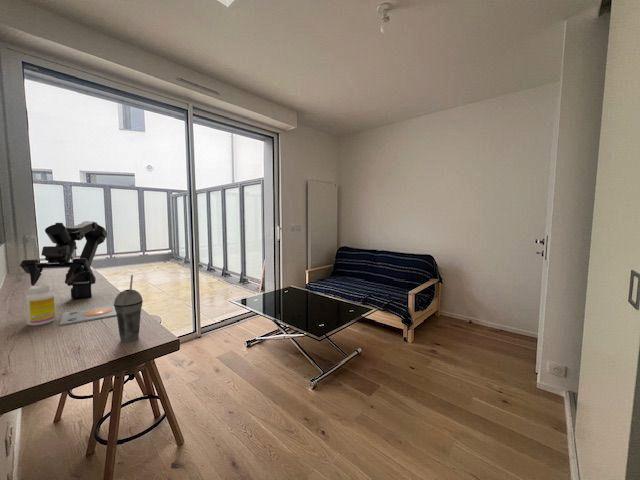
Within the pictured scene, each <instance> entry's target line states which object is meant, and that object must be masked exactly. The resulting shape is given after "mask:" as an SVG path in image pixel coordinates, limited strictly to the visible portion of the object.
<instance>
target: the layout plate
mask: <svg viewBox="0 0 640 480" xmlns="http://www.w3.org/2000/svg"><path fill="white" fill-rule="evenodd" d="M113 317H117V314H116V311H115V306H114V304H111V305H105V306H99V307H92V308H85V309H79V310H73V311H66V312H62V316H61V318H60V322H59V327H62V326H66V325H73V324H78V323H83V322H84V323H85V322H90V321H95V320H101V319H108V318H113Z"/></svg>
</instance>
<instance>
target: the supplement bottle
mask: <svg viewBox="0 0 640 480" xmlns="http://www.w3.org/2000/svg"><path fill="white" fill-rule="evenodd" d="M29 293H30V294H28V295H27V296H26V297H25V306H26V309H25V310H26V323H27V325H28V326H42V325H46V324H49V323H52V322H54V321H55V319H56V313H55V294H54V293H53V292H50V285H46V284H43V285H34V286H30V287H29Z"/></svg>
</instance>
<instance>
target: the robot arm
mask: <svg viewBox="0 0 640 480" xmlns="http://www.w3.org/2000/svg"><path fill="white" fill-rule="evenodd" d="M44 232H45V234H46V235H47V237H48V238H49V239H50V241H51V242H52V243H53V244H54V246H52V245H51V246H42V249H41V250H42V251H41V256H43V257H44V260H45V262H40V261H39V260H38V259H23V260H22V261H20V263H19V266H20V268H21V269H22V270H23V271H24V272H25V273H26V274H29V276H30V284H31V287H34V286H36V285H37V282H38V280H39V278H40V277H41V276H42V273H41V272H43V269H68V270H67V273H65V279H64V283H65V284H66V285H67V287H71V288H70V297H71V299H72V300H83V299H88V298H92V297H93V294H92V285H94V284H96V280H97V278H96V276H95V274H94V273H93V271H92V269H91V265H92V263H93V261H94V258H95V255H96V252H97V249H98V247H99V245H101V244H103V243H104V242H105V240H106V239H107V237H108V231H107V229H105V227H104V226H101V225H100V224H98V222H96V221H92V220H91V221H88V220H87V221H82V222H81V223H79V224H77V225H74V226H66V225H64V223H63V222H55V224H51V225H49V226H47V227H46V228H45V229H44ZM83 239H85V240H86V242H85V244H84V246H83V249H82V251H81V253H80V256H79V258H74V256H73V254H74V251H75V250H77V249H78V246H77V242H76V241H82V240H83ZM71 260H72V262H70V261H71Z"/></svg>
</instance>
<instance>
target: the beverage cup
mask: <svg viewBox="0 0 640 480" xmlns="http://www.w3.org/2000/svg"><path fill="white" fill-rule="evenodd" d="M133 279H134V275H133V274H131V275H130V282H129V283H130V284H129V289H125V290H122V291H120V292H119V293H118V294H117V295H116V297H115V298H114V301H113V305H114V306H115V311H116V314H117V316H116V318H117V319H116V320H117V328H118V333H119V339H120V342H121V343H130V342H133V341H137V339H139V335H140V329H141V328H140V326H141V314H142V313H141V312H142V307H143V302H144V300H143V297H142V295H141V293H140V292H139V291H137V290H135V289H133V281H134V280H133Z"/></svg>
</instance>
